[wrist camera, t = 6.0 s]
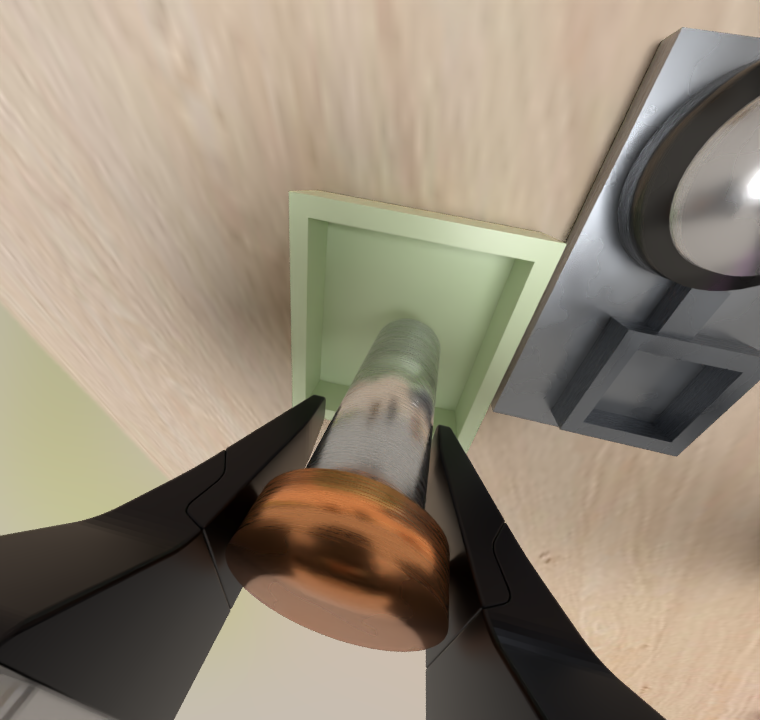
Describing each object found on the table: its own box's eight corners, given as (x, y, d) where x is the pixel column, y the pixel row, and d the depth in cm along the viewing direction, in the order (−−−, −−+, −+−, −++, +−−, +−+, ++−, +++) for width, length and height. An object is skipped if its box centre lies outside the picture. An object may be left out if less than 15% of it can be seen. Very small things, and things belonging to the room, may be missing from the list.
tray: (462, 417, 19) (466, 453, 17) (311, 381, 20) (292, 411, 17) (541, 232, 13) (566, 243, 10) (317, 190, 14) (288, 191, 11)
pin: (439, 395, 15) (417, 669, 6) (359, 374, 15) (238, 603, 7) (466, 318, 13) (486, 591, 4) (369, 296, 13) (207, 498, 5)
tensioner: (653, 438, 18) (711, 506, 14) (490, 400, 18) (503, 456, 14) (994, 88, 9) (1387, 19, 5) (661, 41, 10) (801, -50, 6)
